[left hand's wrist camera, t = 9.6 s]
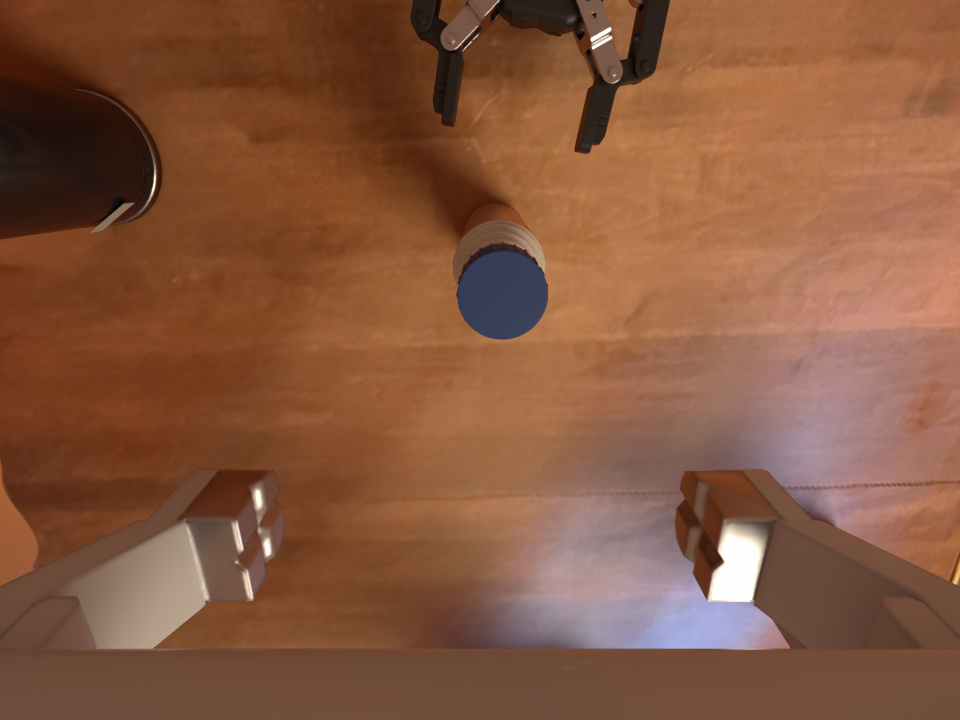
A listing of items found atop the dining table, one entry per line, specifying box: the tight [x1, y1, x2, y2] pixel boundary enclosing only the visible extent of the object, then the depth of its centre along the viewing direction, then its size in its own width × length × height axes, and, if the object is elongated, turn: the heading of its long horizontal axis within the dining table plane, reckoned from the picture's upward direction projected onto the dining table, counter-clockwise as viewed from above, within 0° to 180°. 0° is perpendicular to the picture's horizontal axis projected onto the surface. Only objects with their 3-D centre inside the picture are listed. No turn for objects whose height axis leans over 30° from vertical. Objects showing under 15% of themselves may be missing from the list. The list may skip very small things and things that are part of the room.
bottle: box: [453, 203, 545, 287], centre depth 31 cm, size 5×5×21 cm
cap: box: [457, 242, 548, 339], centre depth 22 cm, size 4×4×2 cm
